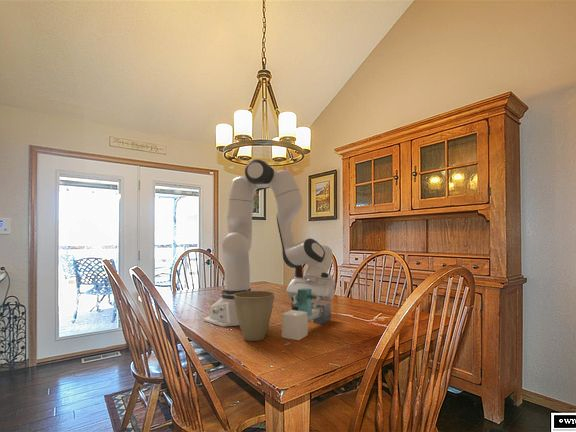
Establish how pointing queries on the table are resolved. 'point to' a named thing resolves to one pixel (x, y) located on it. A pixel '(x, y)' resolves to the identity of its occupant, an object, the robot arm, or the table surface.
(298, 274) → the beer bottle
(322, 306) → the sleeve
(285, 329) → the socket block
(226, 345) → the table surface
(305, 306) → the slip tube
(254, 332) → the plant pot
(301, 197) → the robot arm
